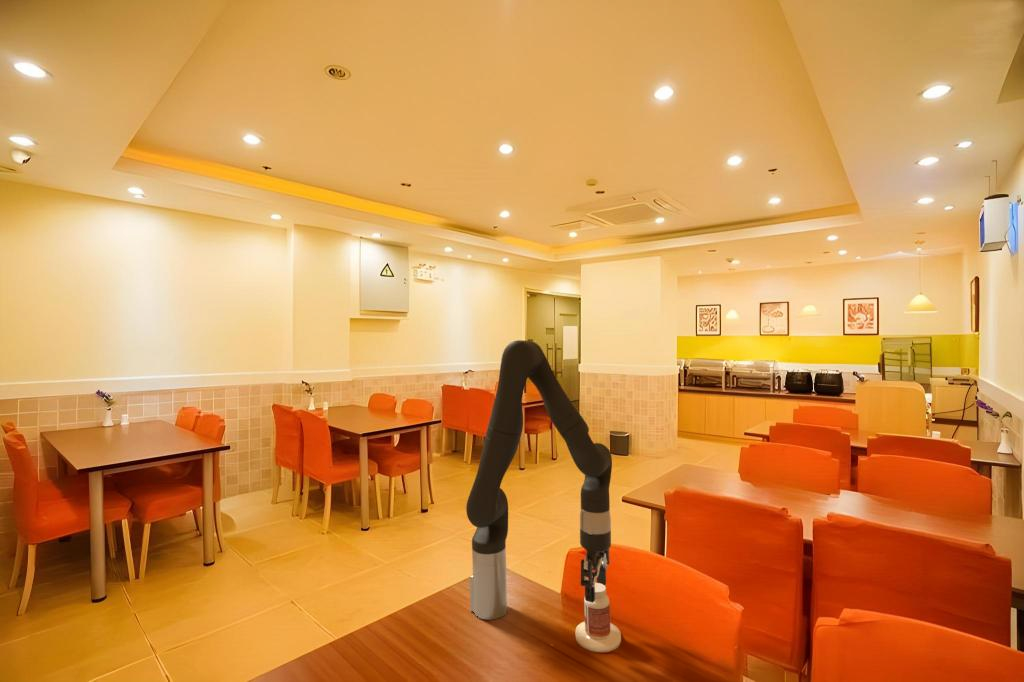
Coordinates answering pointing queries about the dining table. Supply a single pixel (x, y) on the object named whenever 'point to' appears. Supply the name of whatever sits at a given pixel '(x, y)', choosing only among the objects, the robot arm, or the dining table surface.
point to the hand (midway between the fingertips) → (595, 592)
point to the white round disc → (598, 644)
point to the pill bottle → (598, 614)
